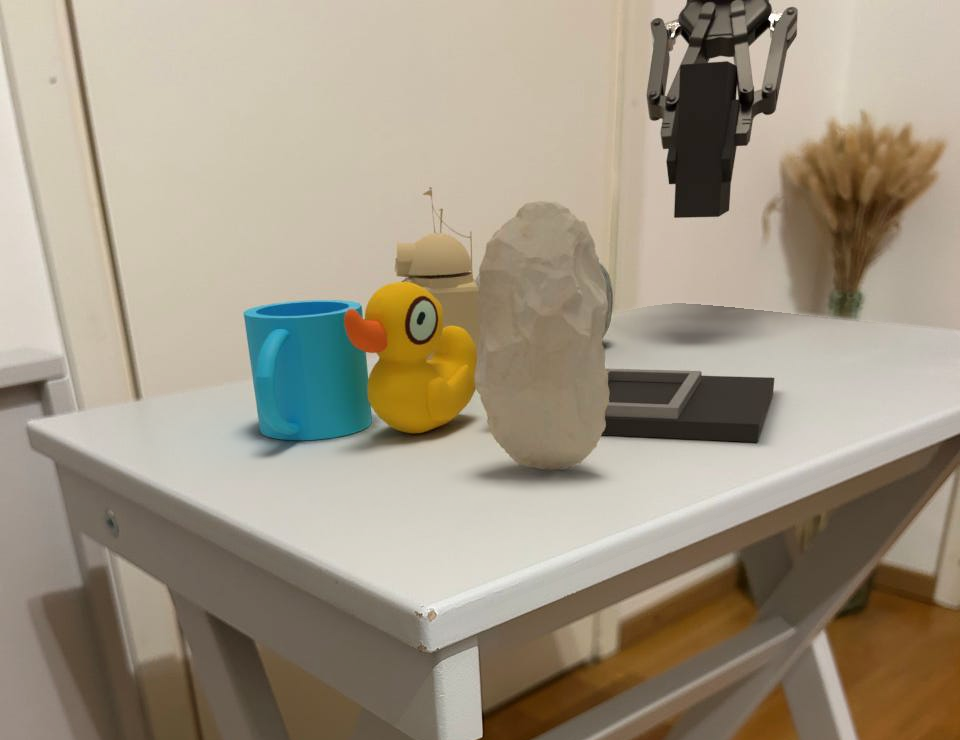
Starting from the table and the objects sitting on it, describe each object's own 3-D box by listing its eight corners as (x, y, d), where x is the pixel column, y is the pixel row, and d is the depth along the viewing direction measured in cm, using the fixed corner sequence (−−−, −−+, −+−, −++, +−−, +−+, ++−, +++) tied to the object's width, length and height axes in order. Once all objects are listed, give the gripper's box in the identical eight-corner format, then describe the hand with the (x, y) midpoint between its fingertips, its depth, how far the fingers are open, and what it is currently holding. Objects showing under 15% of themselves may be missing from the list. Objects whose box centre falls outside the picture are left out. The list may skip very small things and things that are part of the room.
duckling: (388, 456, 64) (374, 294, 60) (332, 444, 68) (315, 290, 63) (499, 418, 72) (494, 272, 68) (444, 409, 75) (436, 269, 71)
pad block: (729, 210, 95) (738, 66, 90) (719, 216, 88) (728, 61, 83) (686, 211, 96) (693, 69, 91) (673, 217, 89) (680, 64, 84)
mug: (286, 410, 77) (272, 300, 73) (386, 412, 75) (377, 299, 71) (214, 454, 67) (194, 328, 63) (328, 457, 65) (314, 328, 61)
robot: (387, 370, 89) (372, 187, 83) (476, 364, 90) (469, 182, 83) (389, 395, 80) (373, 192, 73) (489, 389, 81) (482, 187, 74)
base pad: (773, 393, 76) (775, 366, 75) (757, 442, 64) (760, 411, 63) (545, 385, 81) (545, 360, 80) (492, 429, 69) (491, 401, 68)
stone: (611, 456, 62) (617, 195, 56) (606, 482, 58) (611, 201, 51) (488, 454, 64) (478, 200, 57) (473, 480, 59) (461, 206, 52)
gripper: (825, 0, 95) (798, 200, 88) (646, 16, 100) (609, 205, 93) (829, -77, 88) (801, 133, 81) (638, -56, 93) (597, 143, 87)
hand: (699, 171), depth 87 cm, fingers closed on pad block, 4 cm apart
